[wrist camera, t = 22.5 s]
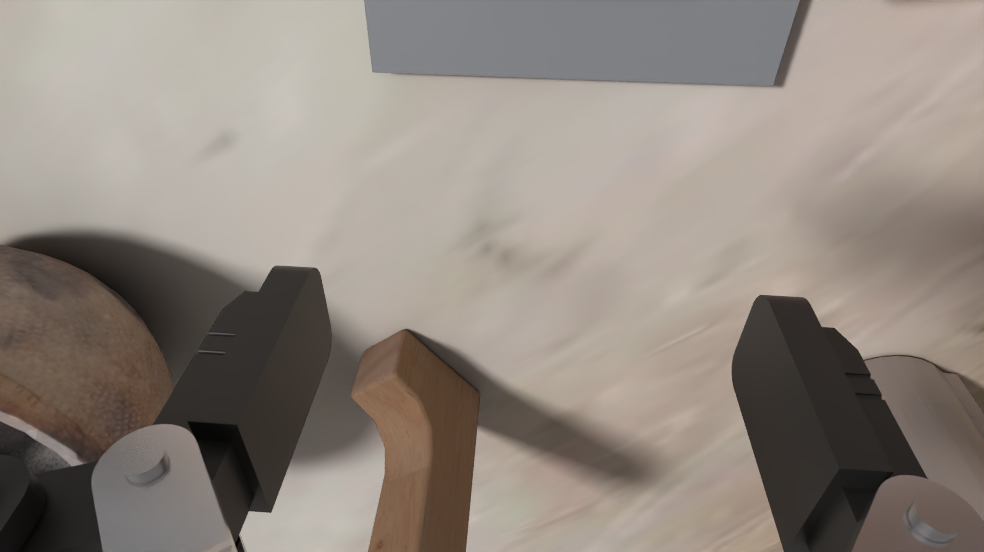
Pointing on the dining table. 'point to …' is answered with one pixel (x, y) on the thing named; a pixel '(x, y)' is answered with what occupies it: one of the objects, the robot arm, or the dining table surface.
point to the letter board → (583, 39)
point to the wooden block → (419, 445)
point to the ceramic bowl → (71, 364)
